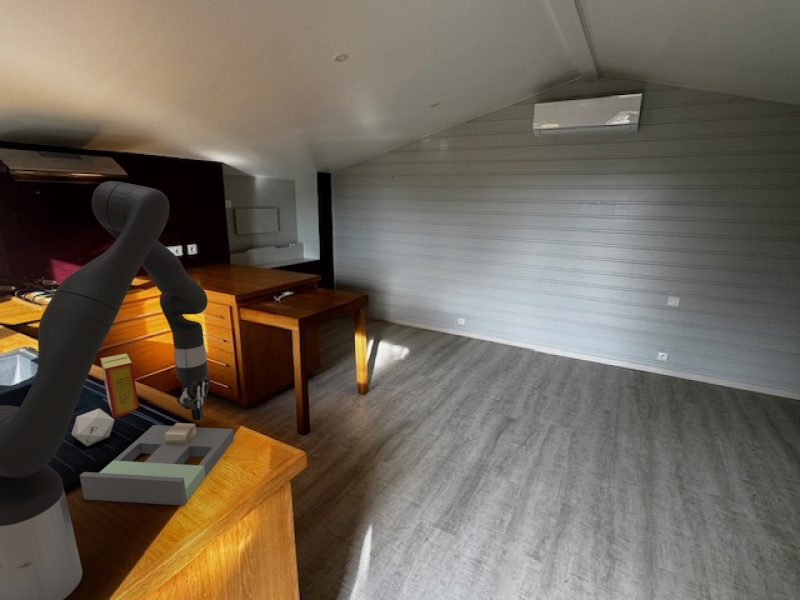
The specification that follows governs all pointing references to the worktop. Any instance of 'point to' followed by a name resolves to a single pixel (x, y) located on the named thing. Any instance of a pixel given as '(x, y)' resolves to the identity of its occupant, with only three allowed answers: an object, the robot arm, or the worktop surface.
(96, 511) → the worktop surface
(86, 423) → the die
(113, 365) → the baking soda box
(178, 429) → the birch block
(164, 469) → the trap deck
